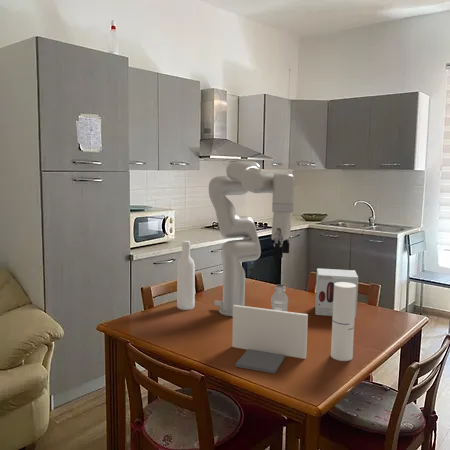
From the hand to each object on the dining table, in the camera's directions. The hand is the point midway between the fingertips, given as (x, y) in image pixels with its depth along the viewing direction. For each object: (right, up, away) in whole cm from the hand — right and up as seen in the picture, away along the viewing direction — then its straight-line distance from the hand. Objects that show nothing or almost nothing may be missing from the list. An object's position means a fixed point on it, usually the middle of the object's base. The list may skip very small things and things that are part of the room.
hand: (281, 255), depth 172 cm
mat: (-9, -34, -17) cm, 39 cm away
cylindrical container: (+19, -34, -12) cm, 40 cm away
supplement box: (+28, -28, +36) cm, 53 cm away
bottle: (-38, -26, +40) cm, 61 cm away
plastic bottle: (0, -31, +4) cm, 32 cm away
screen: (-6, -33, -9) cm, 34 cm away
